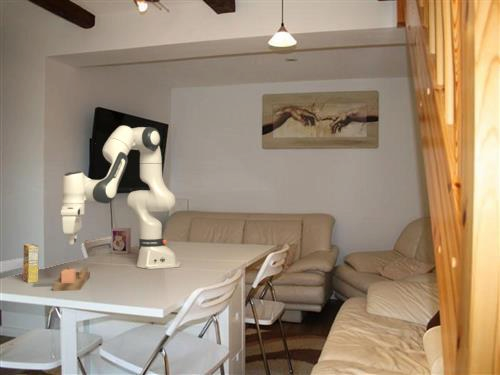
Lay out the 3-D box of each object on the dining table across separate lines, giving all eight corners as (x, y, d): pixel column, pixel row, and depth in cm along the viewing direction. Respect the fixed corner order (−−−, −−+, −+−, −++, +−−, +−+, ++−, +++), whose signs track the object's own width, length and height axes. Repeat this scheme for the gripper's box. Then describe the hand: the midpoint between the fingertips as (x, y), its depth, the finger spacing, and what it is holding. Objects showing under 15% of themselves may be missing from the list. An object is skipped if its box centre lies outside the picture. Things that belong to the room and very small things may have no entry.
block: (75, 280, 175) (75, 269, 175) (73, 282, 171) (73, 271, 171) (64, 280, 174) (64, 269, 174) (61, 283, 170) (61, 271, 170)
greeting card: (110, 252, 262) (110, 228, 262) (117, 251, 269) (118, 227, 269) (126, 253, 259) (127, 229, 259) (133, 252, 266) (133, 228, 266)
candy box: (22, 279, 186) (22, 244, 186) (33, 278, 189) (33, 243, 189) (28, 283, 179) (28, 246, 179) (38, 281, 182) (39, 245, 182)
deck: (90, 277, 193) (90, 264, 193) (80, 289, 169) (80, 275, 169) (66, 277, 191) (66, 265, 191) (53, 290, 167) (53, 276, 167)
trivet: (61, 281, 184) (61, 278, 184) (56, 285, 176) (56, 282, 176) (39, 281, 182) (39, 278, 182) (33, 286, 174) (33, 283, 174)
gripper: (70, 208, 189) (69, 240, 189) (59, 211, 168) (59, 246, 169) (85, 208, 190) (85, 240, 190) (76, 211, 170) (76, 246, 170)
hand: (72, 243), depth 179 cm, fingers open, 3 cm apart
